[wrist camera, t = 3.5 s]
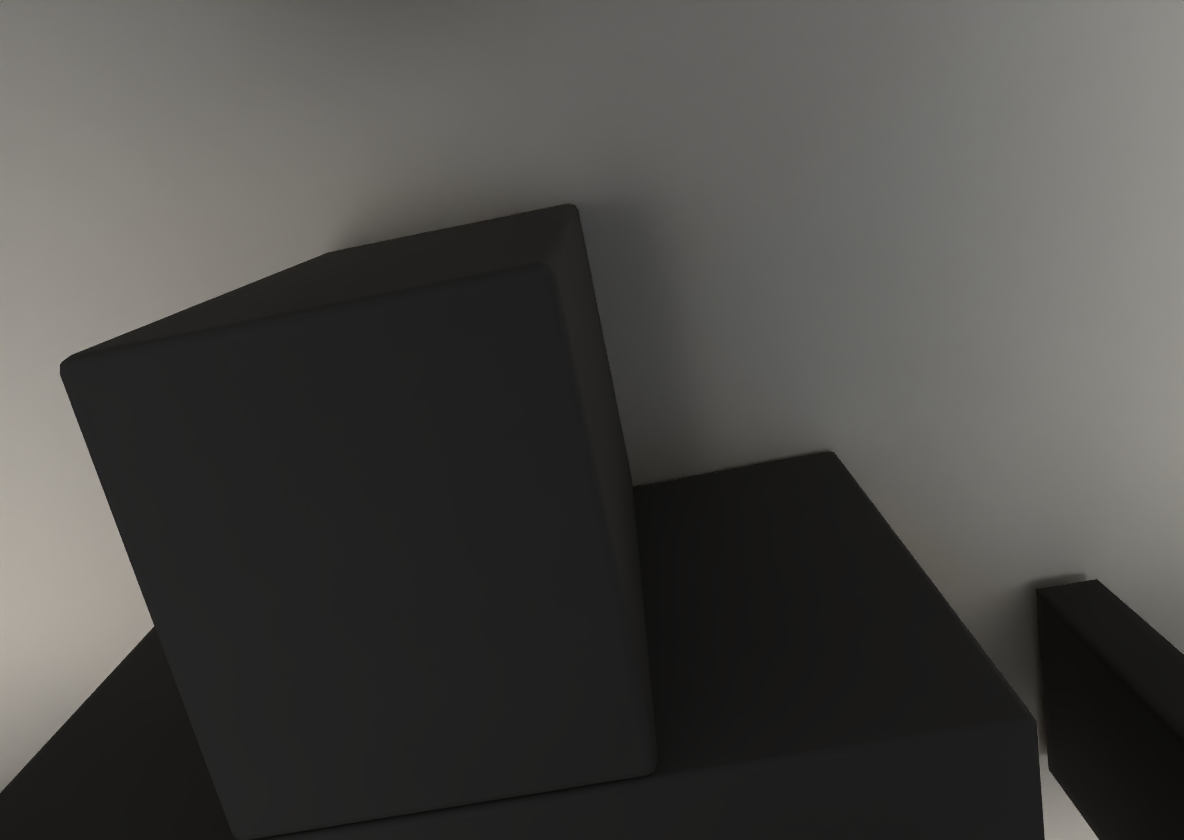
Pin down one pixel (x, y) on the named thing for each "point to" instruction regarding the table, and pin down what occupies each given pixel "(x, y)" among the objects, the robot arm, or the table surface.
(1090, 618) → the robot arm
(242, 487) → the pad
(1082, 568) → the table surface
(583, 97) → the table surface
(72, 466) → the table surface
